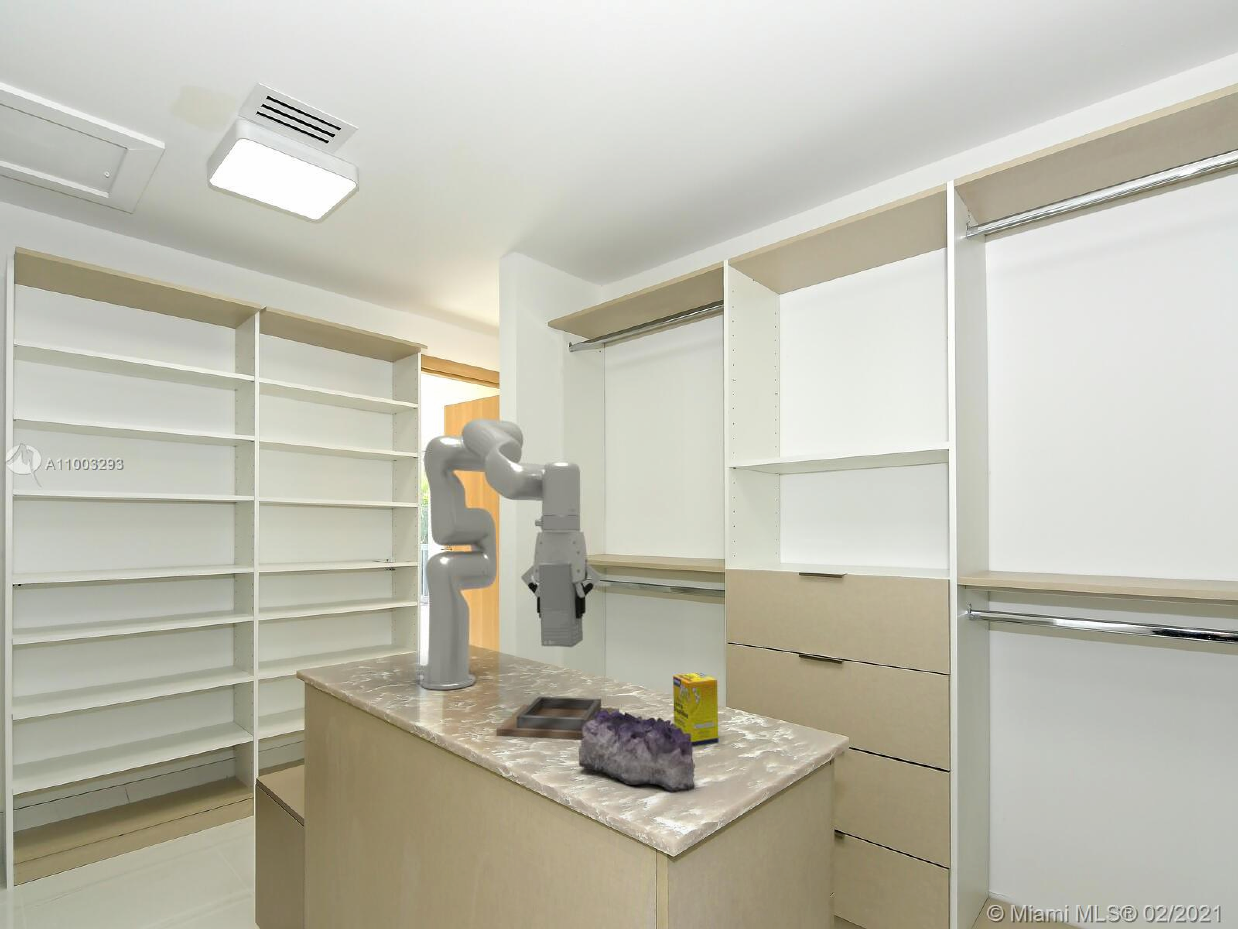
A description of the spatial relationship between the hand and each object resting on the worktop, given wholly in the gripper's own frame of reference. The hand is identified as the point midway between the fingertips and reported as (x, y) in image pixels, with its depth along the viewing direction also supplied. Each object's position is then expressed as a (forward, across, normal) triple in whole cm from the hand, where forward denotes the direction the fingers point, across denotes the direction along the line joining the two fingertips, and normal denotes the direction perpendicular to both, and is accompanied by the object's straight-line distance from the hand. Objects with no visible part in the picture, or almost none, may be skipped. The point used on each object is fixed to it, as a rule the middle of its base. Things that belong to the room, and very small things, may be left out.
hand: (561, 616), depth 127 cm
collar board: (+20, 0, 0) cm, 20 cm away
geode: (+21, +18, -21) cm, 35 cm away
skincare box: (+5, 0, 0) cm, 5 cm away
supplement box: (+21, +26, -5) cm, 34 cm away
